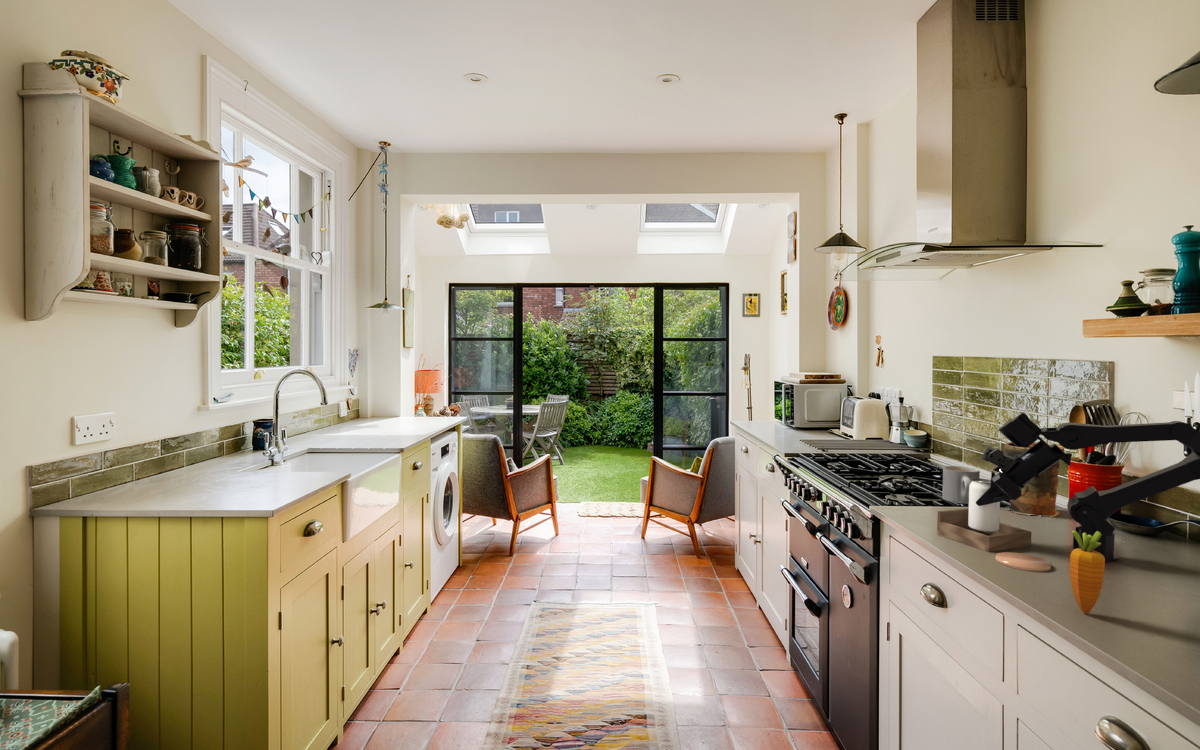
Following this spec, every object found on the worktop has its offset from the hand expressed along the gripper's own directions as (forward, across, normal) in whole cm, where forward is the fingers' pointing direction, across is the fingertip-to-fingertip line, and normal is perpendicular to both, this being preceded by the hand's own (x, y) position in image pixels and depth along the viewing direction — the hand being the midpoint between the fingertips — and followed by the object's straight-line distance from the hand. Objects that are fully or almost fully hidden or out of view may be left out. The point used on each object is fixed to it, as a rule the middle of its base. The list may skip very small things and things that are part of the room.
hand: (977, 501), depth 149 cm
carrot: (-6, +40, +19) cm, 45 cm away
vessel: (-2, -42, +16) cm, 45 cm away
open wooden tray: (+6, 0, +8) cm, 10 cm away
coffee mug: (+11, -44, +3) cm, 45 cm away
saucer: (0, +15, +13) cm, 20 cm away
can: (+4, 0, +6) cm, 7 cm away
